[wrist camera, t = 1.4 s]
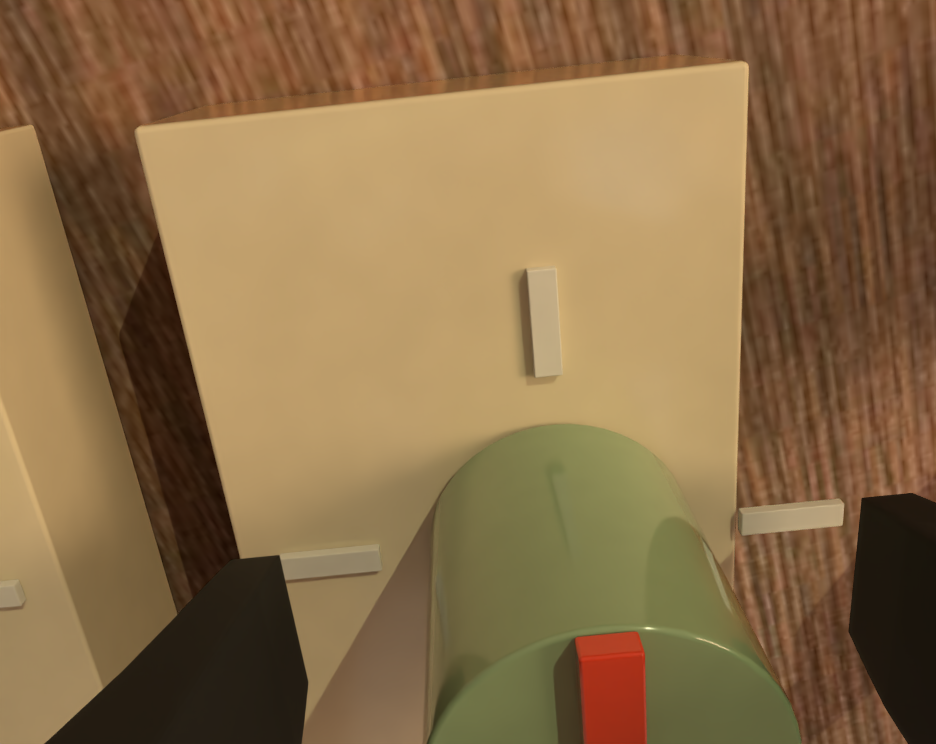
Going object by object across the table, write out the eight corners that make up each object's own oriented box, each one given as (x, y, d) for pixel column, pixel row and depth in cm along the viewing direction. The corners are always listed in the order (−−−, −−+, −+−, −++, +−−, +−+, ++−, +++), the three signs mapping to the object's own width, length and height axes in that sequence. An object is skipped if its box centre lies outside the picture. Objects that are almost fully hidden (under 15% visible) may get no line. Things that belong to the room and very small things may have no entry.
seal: (688, 628, 12) (806, 922, 8) (445, 652, 12) (443, 954, 8) (689, 408, 11) (831, 631, 7) (414, 436, 11) (394, 674, 7)
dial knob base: (750, 683, 16) (816, 824, 14) (336, 722, 17) (312, 870, 14) (777, 43, 12) (885, 46, 9) (203, 105, 12) (124, 129, 9)
